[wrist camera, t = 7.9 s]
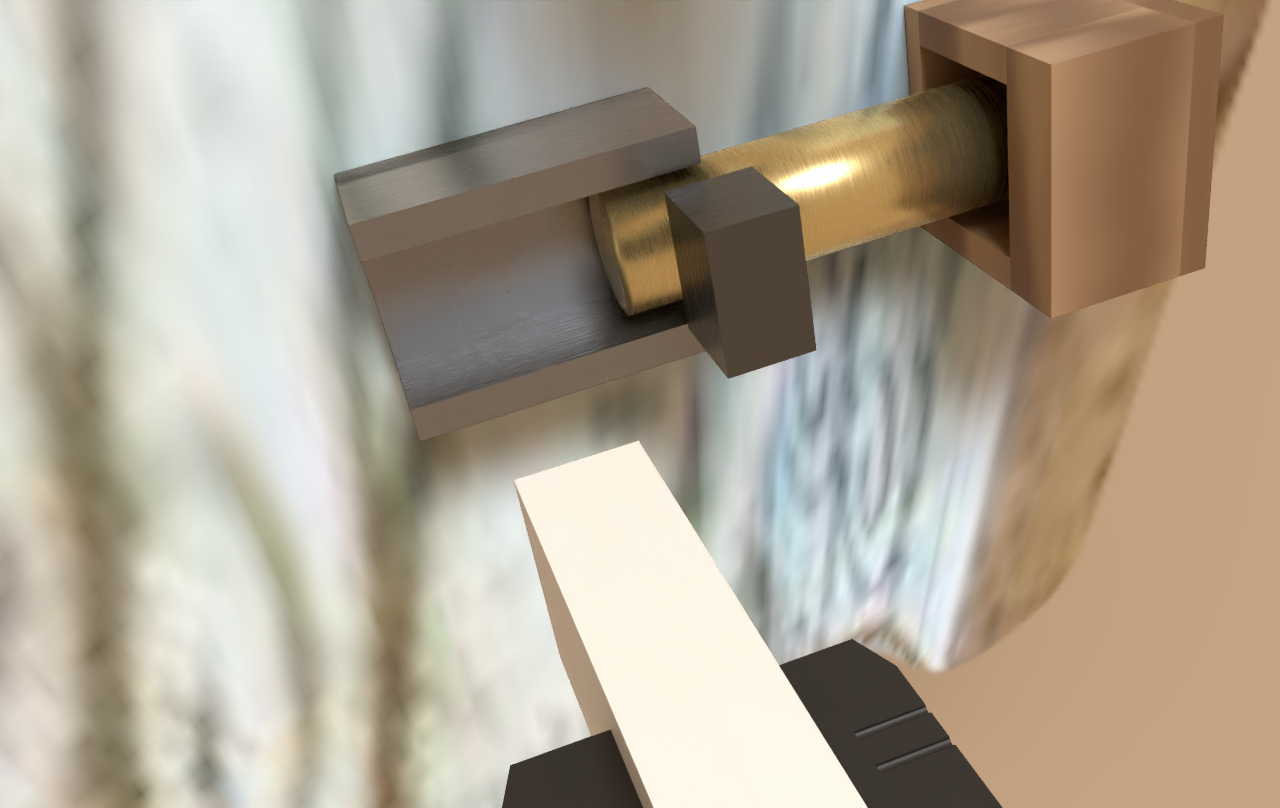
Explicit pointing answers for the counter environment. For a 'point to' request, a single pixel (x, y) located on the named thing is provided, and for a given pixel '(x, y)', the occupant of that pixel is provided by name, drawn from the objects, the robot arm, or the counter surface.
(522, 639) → the counter surface
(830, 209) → the brass bolt
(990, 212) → the socket
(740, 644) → the robot arm
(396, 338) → the open channel
